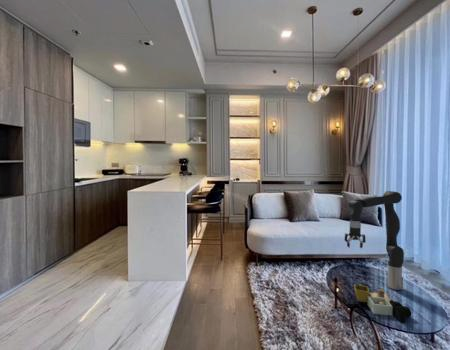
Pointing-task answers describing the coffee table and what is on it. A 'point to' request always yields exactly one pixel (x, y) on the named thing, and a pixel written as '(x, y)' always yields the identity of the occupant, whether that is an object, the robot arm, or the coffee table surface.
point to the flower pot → (361, 293)
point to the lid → (380, 294)
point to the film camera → (400, 311)
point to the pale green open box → (379, 305)
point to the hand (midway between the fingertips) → (354, 247)
